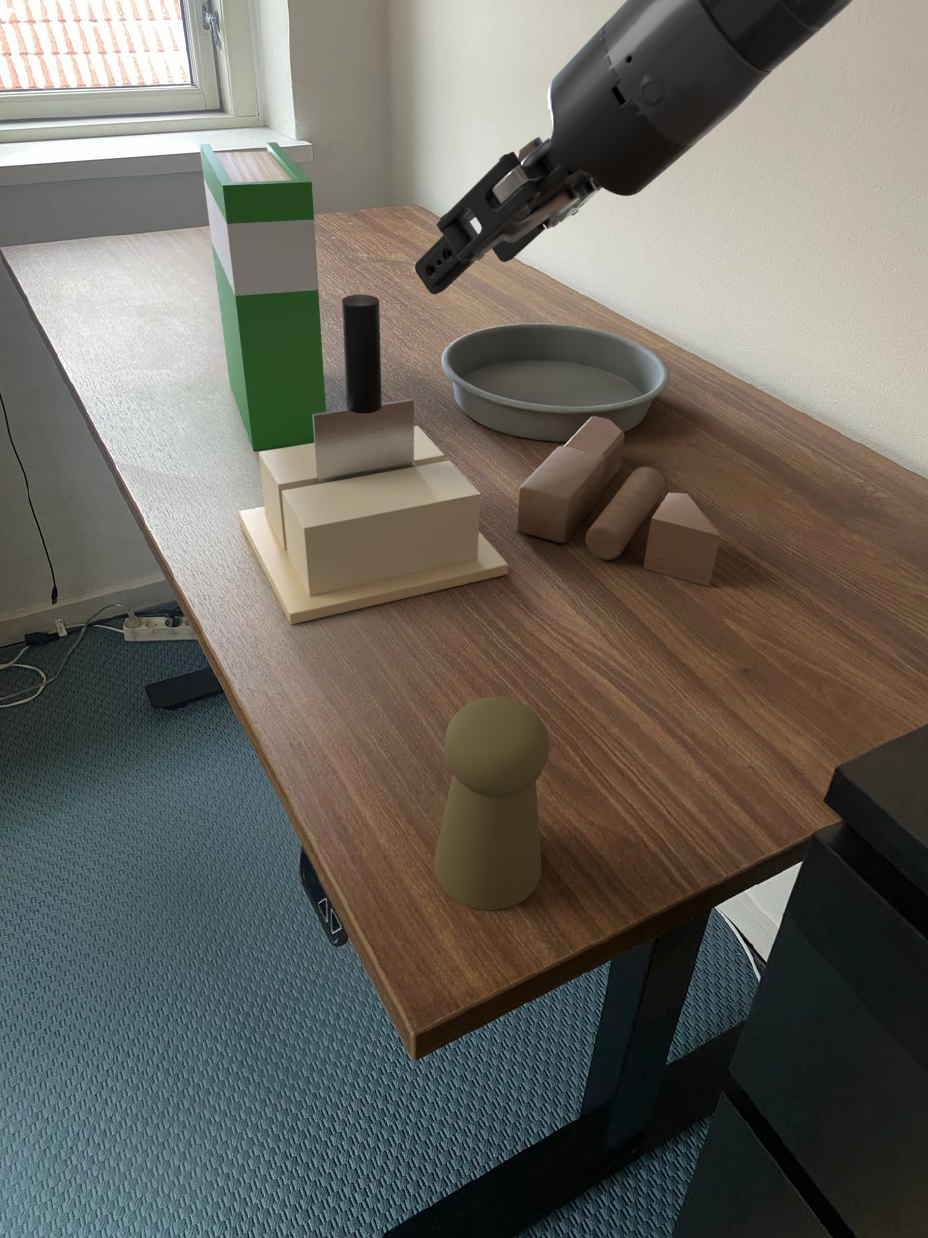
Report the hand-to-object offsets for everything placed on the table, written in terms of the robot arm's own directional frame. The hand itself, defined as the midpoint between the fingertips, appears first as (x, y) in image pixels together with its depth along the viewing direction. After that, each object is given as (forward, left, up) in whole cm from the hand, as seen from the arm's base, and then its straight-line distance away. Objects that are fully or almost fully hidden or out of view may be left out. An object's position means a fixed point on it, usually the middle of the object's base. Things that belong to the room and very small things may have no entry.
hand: (462, 264), depth 59 cm
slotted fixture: (-5, +7, -24) cm, 26 cm away
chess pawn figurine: (-10, -26, -25) cm, 37 cm away
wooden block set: (+19, +3, -25) cm, 31 cm away
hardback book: (-5, +36, -25) cm, 44 cm away
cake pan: (+24, +28, -25) cm, 44 cm away
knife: (-5, +7, -18) cm, 20 cm away
